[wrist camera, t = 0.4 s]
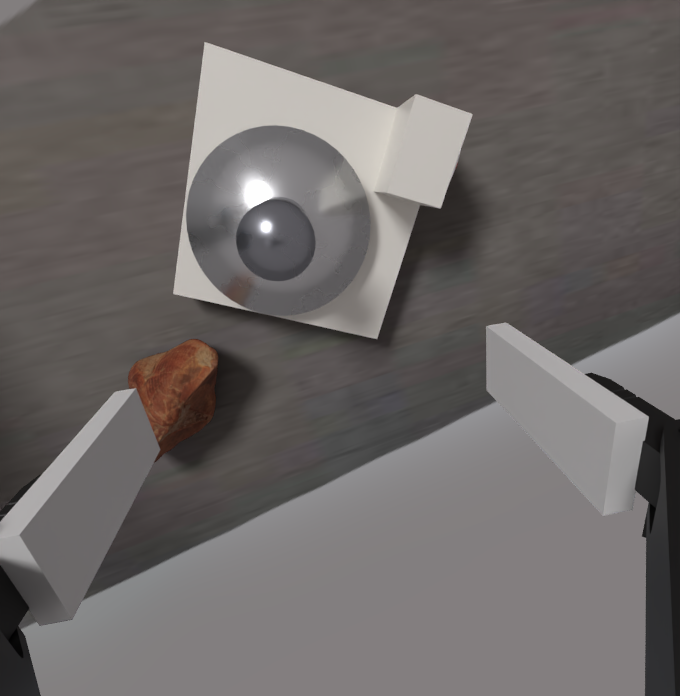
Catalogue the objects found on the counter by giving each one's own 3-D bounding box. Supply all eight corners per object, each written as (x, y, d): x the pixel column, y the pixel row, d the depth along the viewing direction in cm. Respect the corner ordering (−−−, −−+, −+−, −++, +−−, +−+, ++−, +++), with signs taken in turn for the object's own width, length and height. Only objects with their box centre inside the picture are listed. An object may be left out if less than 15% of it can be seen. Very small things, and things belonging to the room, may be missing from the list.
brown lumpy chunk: (205, 317, 34) (178, 429, 28) (265, 363, 40) (252, 462, 35) (106, 353, 39) (67, 455, 33) (173, 389, 45) (149, 479, 40)
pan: (180, 289, 33) (175, 294, 32) (204, 101, 28) (200, 97, 27) (341, 325, 36) (343, 331, 34) (389, 159, 31) (393, 158, 30)
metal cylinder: (245, 250, 31) (229, 271, 24) (256, 189, 30) (243, 190, 22) (303, 265, 32) (305, 289, 25) (316, 206, 30) (323, 213, 23)
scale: (182, 285, 36) (153, 311, 29) (213, 55, 30) (186, 12, 23) (375, 329, 40) (394, 362, 32) (438, 131, 33) (478, 116, 26)
